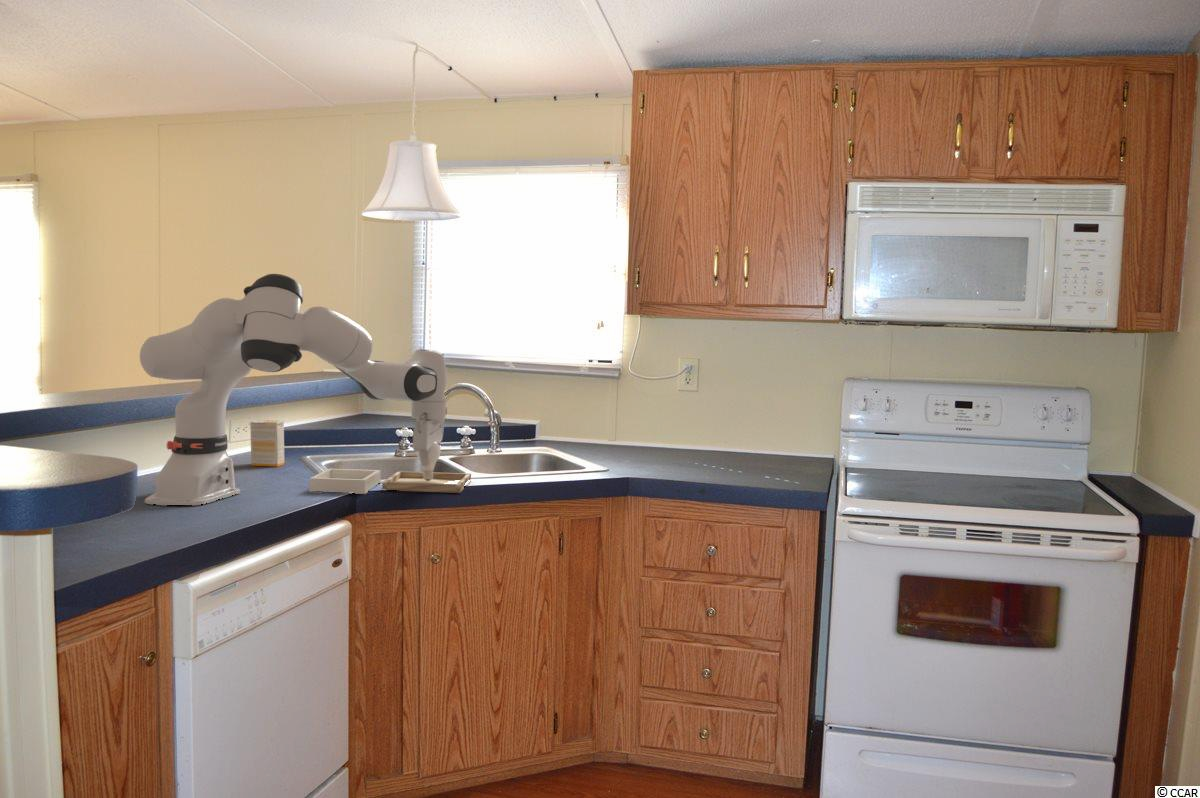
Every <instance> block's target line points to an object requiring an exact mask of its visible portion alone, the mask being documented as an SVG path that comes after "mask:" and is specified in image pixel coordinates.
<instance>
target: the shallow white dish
mask: <svg viewBox="0 0 1200 798" xmlns="http://www.w3.org/2000/svg"><path fill="white" fill-rule="evenodd" d="M381 471H382V470H380V469H378V470H377V469H354V468H352V469H351V468H349V469H347V468H327V469H325V470H323V471H321V472H319V473H317V474H316V475H313V476H311V477H309V492H310V491H334V492H353V493H355V494H357V495H358V494H360V495H366V494H367V493H369V492H368V490H369V489H370V488H372V487H373V486H375V485H377V484H378V483H379V482H381V480H382V479H381V476H382V475H381V474H382V473H381ZM377 486H378V485H377ZM355 494H354V495H355Z"/></svg>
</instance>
